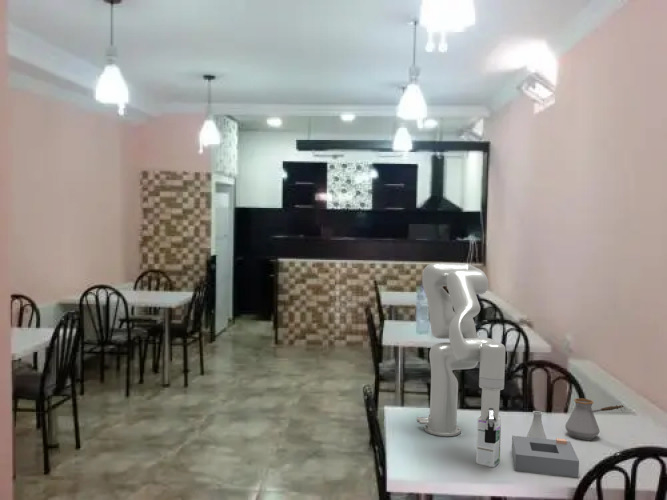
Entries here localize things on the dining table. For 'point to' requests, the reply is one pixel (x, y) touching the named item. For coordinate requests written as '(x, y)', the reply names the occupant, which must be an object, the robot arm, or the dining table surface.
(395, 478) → the dining table surface
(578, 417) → the coffee pot
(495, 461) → the syrup box
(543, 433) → the flask
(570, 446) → the socket block
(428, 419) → the robot arm
